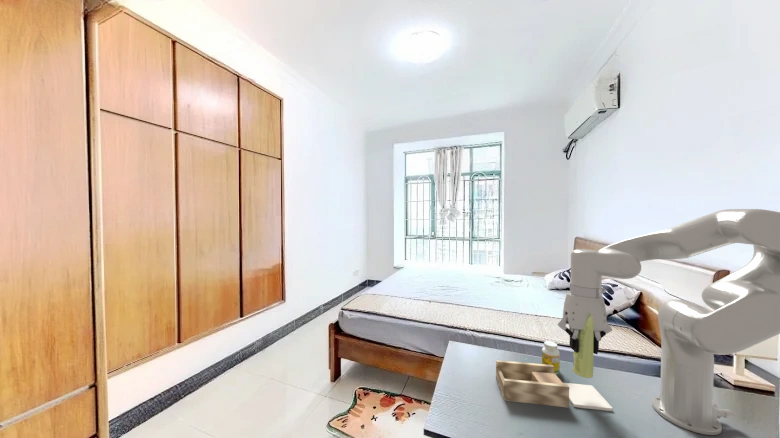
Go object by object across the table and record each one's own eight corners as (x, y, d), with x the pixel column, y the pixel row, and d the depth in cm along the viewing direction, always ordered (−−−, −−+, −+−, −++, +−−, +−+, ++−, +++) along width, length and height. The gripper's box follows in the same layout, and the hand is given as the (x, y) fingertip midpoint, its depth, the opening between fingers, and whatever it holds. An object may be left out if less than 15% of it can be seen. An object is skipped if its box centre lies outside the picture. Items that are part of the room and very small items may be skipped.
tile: (592, 387, 84) (592, 385, 84) (612, 411, 74) (613, 408, 74) (557, 384, 86) (557, 382, 86) (573, 406, 76) (573, 404, 76)
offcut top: (553, 380, 84) (554, 372, 84) (565, 394, 78) (565, 386, 78) (531, 379, 85) (531, 371, 85) (540, 392, 79) (540, 384, 79)
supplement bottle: (563, 374, 91) (563, 347, 91) (547, 375, 91) (548, 347, 90) (552, 365, 96) (553, 339, 96) (538, 366, 96) (538, 340, 96)
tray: (552, 383, 86) (552, 365, 86) (569, 407, 76) (569, 387, 75) (495, 377, 89) (496, 360, 89) (504, 400, 78) (504, 380, 78)
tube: (598, 376, 79) (599, 311, 78) (591, 382, 76) (592, 315, 75) (576, 366, 84) (578, 305, 83) (569, 372, 81) (570, 309, 80)
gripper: (608, 288, 81) (607, 347, 82) (549, 286, 84) (548, 342, 85) (626, 296, 74) (624, 360, 74) (560, 293, 77) (559, 355, 77)
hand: (583, 350), depth 80 cm, fingers closed on tube, 4 cm apart
